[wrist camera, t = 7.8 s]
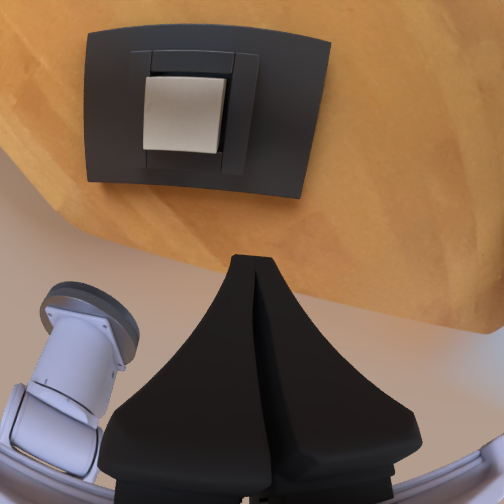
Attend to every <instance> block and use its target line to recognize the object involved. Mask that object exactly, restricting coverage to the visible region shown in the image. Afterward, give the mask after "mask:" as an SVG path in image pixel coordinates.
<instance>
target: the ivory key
mask: <svg viewBox="0 0 504 504" xmlns="http://www.w3.org/2000/svg"><path fill="white" fill-rule="evenodd" d="M226 82H227V79H223V78H209V77H186V76H156V77H147V78H146V86H145V102H144V128H143V149H145V150H170V151H187V152H201V153H214V154H215V153H216V152H217V149H218V146H219V142H220V133H221V123H222V115H223V106H224V98H225V90H226Z"/></svg>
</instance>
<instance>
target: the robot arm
mask: <svg viewBox="0 0 504 504" xmlns="http://www.w3.org/2000/svg"><path fill="white" fill-rule="evenodd" d="M45 311H46V314H47V316H48V318H49V320H50V322H51V324H52V326H53V330H52V332H51V334H50V336H49V339H48V341H47V343H46V345H45V347H44V349H43V352H42V354H41V356H40V358H39V361H38V362H37V365H36V367H35V369H34V372H33V374H32V377H31V379H30V381H29V383H28V384H27V386H26V388H25V385H23V384H22V383H20V384H16V385H14V388H13V390H12V392H11V395H10V397H9V400H8V403H7V406H6V408H5V411H4V414H3V417H2V420H1V423H0V504H240V503H242V499H243V498H244V497H249V502H250V503H249V504H498V503H499V501H501V500H502V499H503V498H504V433H503V434H501V435H500V436H498V437H497V438H495V439H493V440H492V441H490V442H488V443H487V444H486V445H484V446H482V447H481V448H480V449H478V450H476V451H475V452H473V453H471V454H469V455H467V456H465V457H463V458H461V459H459V460H457V461H455V462H452V463H450V464H448V465H446V466H443V467H441V468H439V469H436V470H434V471H432V472H429V473H427V474H424V475H421V476H419V477H416V478H413V479H410V480H408V481H405V482H402V483H399V484H395V485H393V486H392V483H391V478H390V477H391V476H393V475H394V474H395V469H394V465H393V464H394V463H396V462H398V461H400V460H402V459H403V458H405V457H407V456H409V455H411V454H412V453H414V452H416V451H417V450H418V449H419V448H420V447H421V446H422V438H421V435H420V431H419V427H418V424H417V421H416V418H415V416H414V413H413V412H412V411H410V410H409V409H408V408H406V407H405V406H403V405H402V404H400V403H398V402H397V401H395V400H394V399H393V398H391V397H390V396H388V395H387V394H385V393H384V392H383V391H381V390H380V389H379V388H377V387H376V386H375V385H374V384H373V383H371V382H370V381H369V380H367V379H366V378H365V377H364V376H363V375H362V374H360V373H359V372H358V371H357V370H356V369H355V368H354V367H353V366H352V365H351V364H350V363H349V362H348V361H347V360H346V359H345V358H343V357H342V356H341V355H340V354H339V353H338V352H337V350H336V349H335V348H334V347H333V346H332V345H331V344H330V343H329V342H328V340H327V339H326V338H325V337H324V336H323V335H322V334H321V332H320V331H319V330H318V329H317V327H316V326H315V325H314V323H313V322H312V321H311V319H310V318H309V317H308V315H307V314H306V313H305V311H304V310H303V308H302V307H301V305H300V304H299V303H298V301H297V299H296V298H295V296H294V295H293V293H292V292H291V290H290V288H289V287H288V285H287V283H286V282H285V280H284V278H283V277H282V275H281V273H280V271H279V269H278V267H277V265H276V263H275V261H274V260H273V259H272V257H261V256H249V255H238V254H235V255H233V256H232V257H231V263H230V266H229V269H228V272H227V274H226V277H225V279H224V281H223V283H222V285H221V287H220V289H219V291H218V293H217V295H216V297H215V299H214V301H213V302H212V304H211V306H210V307H209V309H208V310H207V312H206V314H205V315H204V317H203V318H202V320H201V321H200V323H199V324H198V326H197V327H196V328H195V330H194V331H193V332H192V334H191V335H190V336H189V338H188V339H187V340H186V341H185V343H184V344H183V345H182V346H181V348H180V349H179V350H178V351H177V352H176V354H175V355H174V356H173V357H172V358H171V359H170V361H168V362H167V364H166V365H165V366H164V367H163V368H162V369H161V370H160V371H159V372H158V373H157V374H156V375H155V376H154V377H153V378H152V379H151V380H150V381H149V382H148V383H147V384H146V385H145V386H143V387H142V388H141V389H140V390H139V391H138V392H137V393H135V394H134V395H133V396H132V397H131V398H129V399H128V400H127V401H126V402H125V403H124V404H122V405H121V406H120V407H119V408H117V409H116V410H115V411H114V413H113V415H112V416H111V418H110V420H109V422H108V424H107V427H106V429H105V432H104V433H103V430H102V429H101V428H100V427H99V426H98V422H99V419H100V418H102V417H103V415H104V414H105V412H106V410H107V407H108V404H109V400H110V396H111V393H112V389H113V385H114V381H115V378H116V374H117V371H118V370H119V371H125V369H126V367H125V364H124V362H123V359H122V357H121V354H120V351H119V348H118V346H117V343H116V340H115V337H114V334H113V331H112V328H111V325H110V322H109V320H108V319H106V318H103V317H97V316H92V315H87V314H82V313H77V312H72V311H67V310H62V309H58V308H53V307H49V306H47V307H46V308H45ZM13 445H14V446H16V447H18V448H20V449H21V450H23V451H25V452H27V453H28V454H30V455H32V456H34V457H36V458H38V459H40V460H42V461H44V462H46V463H48V464H50V465H52V466H55V467H57V468H59V469H61V470H64V471H66V472H67V473H65V472H60V471H58V470H55V469H53V468H51V467H49V466H47V465H45V464H43V463H41V462H39V461H36V460H35V459H33V458H31V457H29V456H27V455H25V454H23V453H22V452H20V451H19V450H17V449H16V448H15V447H14V446H13ZM100 470H101V471H102V472H104V473H105V474H107V475H109V476H111V477H113V478H114V479H116V487H115V490H112V489H108V488H105V487H102V486H98V485H95V484H94V482H95V479H96V477H97V475H98V474H99V472H100Z"/></svg>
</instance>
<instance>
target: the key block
mask: <svg viewBox="0 0 504 504" xmlns="http://www.w3.org/2000/svg"><path fill="white" fill-rule="evenodd" d="M330 48H331V42H328V41H324V40H320V39H315V38H311V37H307V36H302V35H297V34H292V33H286V32H281V31H275V30H268V29H261V28H253V27H244V26H232V25H218V24H159V25H145V26H134V27H125V28H117V29H110V30H104V31H98V32H92V33H88V38H87V47H86V59H85V74H84V141H85V158H86V170H87V180H88V182H106V183H131V184H150V185H166V186H180V187H193V188H205V189H216V190H226V191H236V192H245V193H254V194H263V195H271V196H279V197H287V198H294V199H300V197H301V192H302V188H303V183H304V179H305V174H306V170H307V165H308V161H309V156H310V151H311V147H312V142H313V137H314V132H315V127H316V122H317V118H318V113H319V107H320V102H321V97H322V92H323V87H324V81H325V76H326V71H327V65H328V59H329V54H330ZM156 76H186V77H209V78H223V79H227V82H226V90H225V98H224V106H223V115H222V123H221V133H220V142H219V146H218V149H217V152H216V153H215V154H214V153H201V152H187V151H170V150H145V149H143V128H144V102H145V86H146V78H147V77H156Z"/></svg>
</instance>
